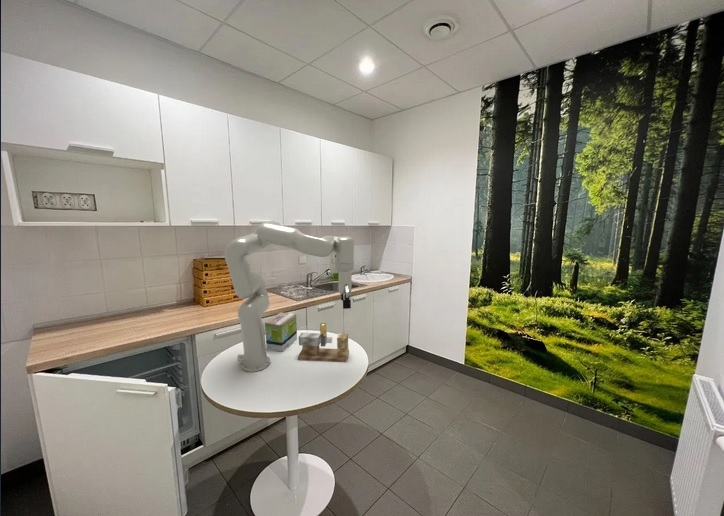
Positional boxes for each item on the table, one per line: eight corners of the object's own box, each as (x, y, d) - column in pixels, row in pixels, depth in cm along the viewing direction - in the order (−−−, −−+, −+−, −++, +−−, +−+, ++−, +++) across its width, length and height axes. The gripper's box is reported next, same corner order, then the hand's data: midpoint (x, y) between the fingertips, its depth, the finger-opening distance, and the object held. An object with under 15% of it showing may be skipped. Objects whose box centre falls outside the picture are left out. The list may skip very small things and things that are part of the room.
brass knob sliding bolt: (301, 345, 143) (300, 325, 140) (304, 341, 147) (303, 321, 145) (331, 346, 141) (330, 326, 139) (333, 342, 145) (332, 322, 143)
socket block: (337, 356, 141) (336, 338, 139) (339, 351, 146) (338, 333, 144) (346, 357, 141) (346, 338, 139) (348, 351, 146) (348, 333, 144)
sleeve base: (297, 359, 142) (296, 339, 140) (303, 350, 151) (302, 330, 148) (346, 362, 139) (345, 341, 137) (349, 352, 148) (348, 332, 146)
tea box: (283, 352, 149) (281, 324, 146) (266, 349, 152) (263, 322, 149) (297, 338, 163) (296, 313, 160) (281, 336, 166) (279, 311, 163)
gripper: (335, 261, 133) (336, 297, 137) (337, 271, 116) (338, 312, 120) (351, 261, 134) (352, 297, 138) (356, 270, 118) (356, 311, 121)
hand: (345, 304), depth 129 cm, fingers open, 9 cm apart
